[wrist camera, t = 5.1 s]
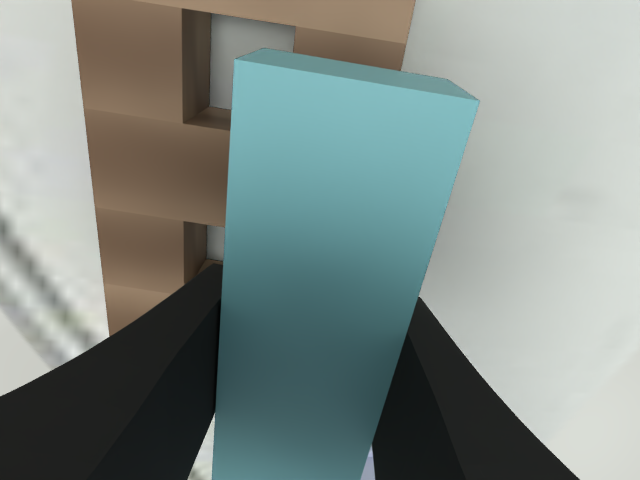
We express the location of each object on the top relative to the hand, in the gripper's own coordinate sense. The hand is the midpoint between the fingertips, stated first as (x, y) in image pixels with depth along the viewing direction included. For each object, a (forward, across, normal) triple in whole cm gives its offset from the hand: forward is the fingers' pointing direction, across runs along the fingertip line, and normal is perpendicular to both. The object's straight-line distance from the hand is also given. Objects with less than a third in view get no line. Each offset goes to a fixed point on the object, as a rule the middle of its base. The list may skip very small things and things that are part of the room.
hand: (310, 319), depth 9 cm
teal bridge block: (+3, 0, 0) cm, 3 cm away
